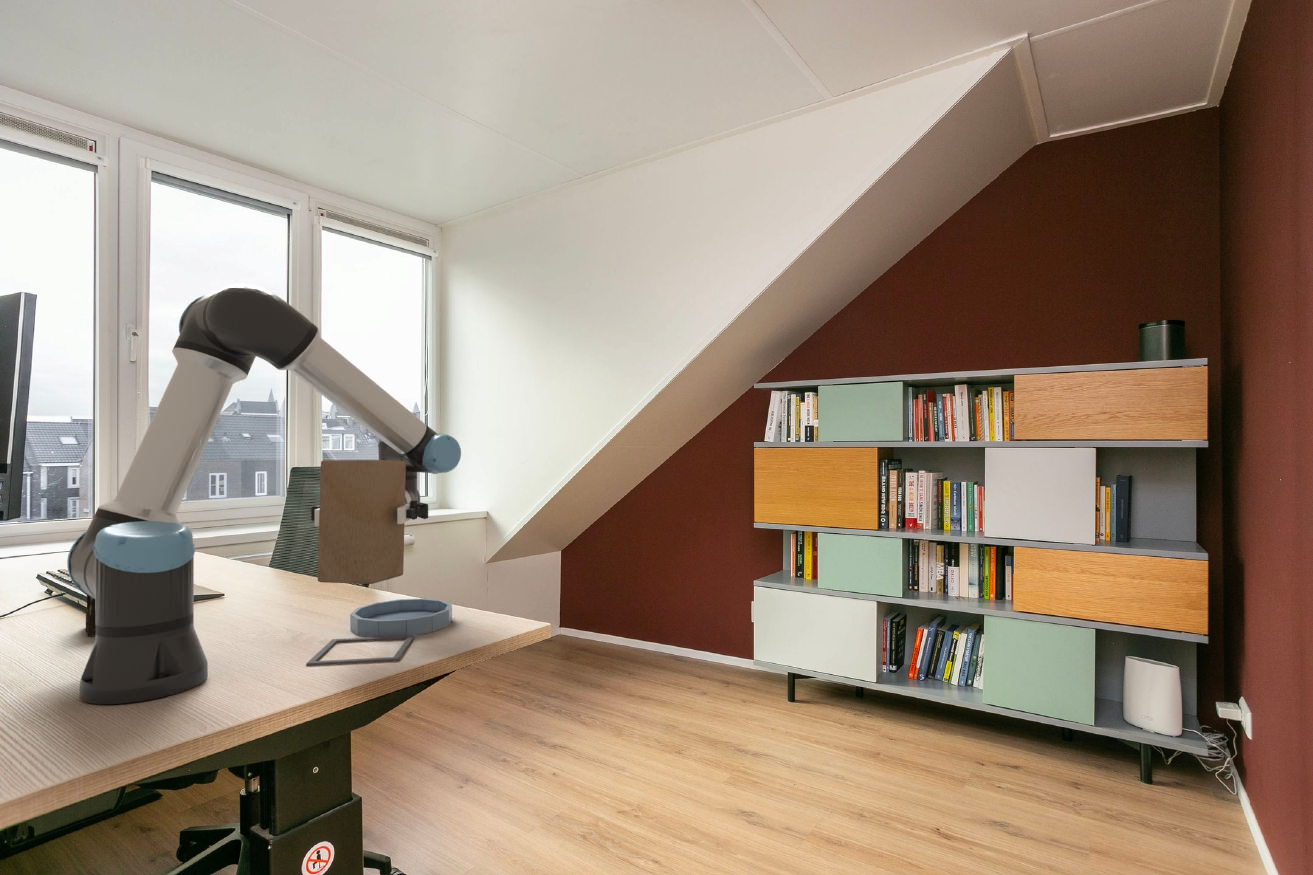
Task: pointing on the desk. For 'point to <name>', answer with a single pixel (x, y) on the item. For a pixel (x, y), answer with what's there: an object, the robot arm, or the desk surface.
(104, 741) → the desk surface
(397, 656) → the dark grey square frame
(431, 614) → the dish
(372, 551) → the wooden block
